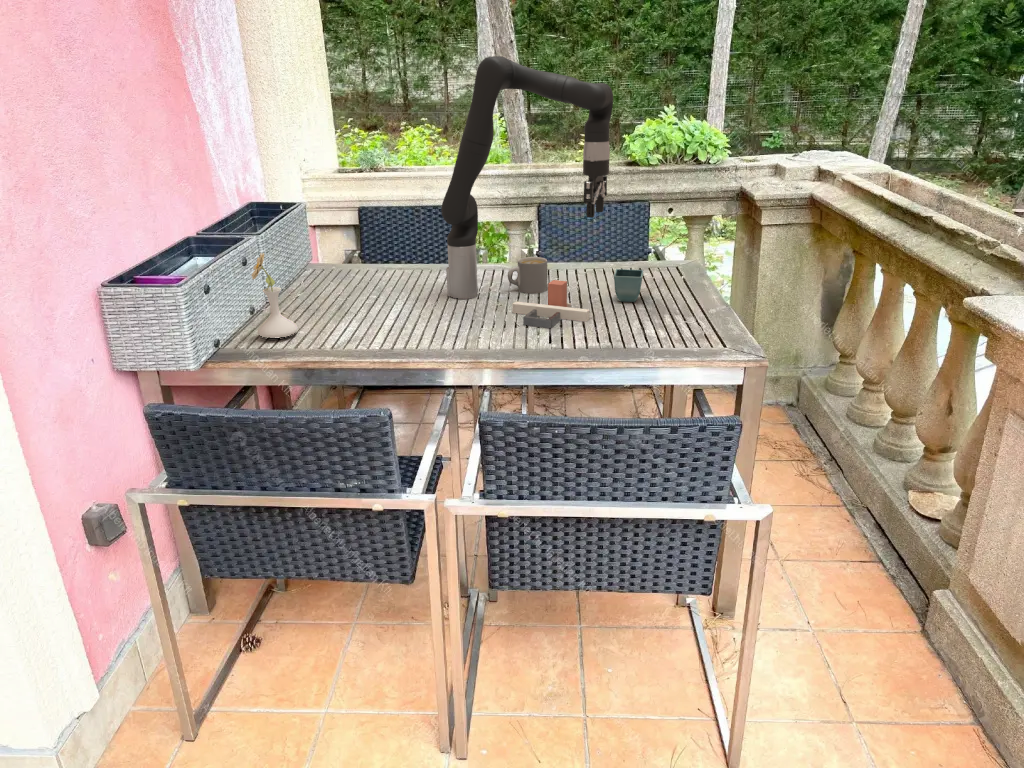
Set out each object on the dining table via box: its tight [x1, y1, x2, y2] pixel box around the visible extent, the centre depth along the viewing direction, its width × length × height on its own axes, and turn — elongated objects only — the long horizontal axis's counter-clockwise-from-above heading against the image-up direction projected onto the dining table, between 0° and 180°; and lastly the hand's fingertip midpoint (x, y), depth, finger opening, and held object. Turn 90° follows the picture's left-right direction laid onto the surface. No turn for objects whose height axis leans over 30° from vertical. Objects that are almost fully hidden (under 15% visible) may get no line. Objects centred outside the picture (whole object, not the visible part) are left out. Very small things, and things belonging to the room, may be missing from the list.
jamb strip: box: [511, 301, 590, 323], centre depth 237 cm, size 24×11×3 cm, turn 66°
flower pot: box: [613, 268, 644, 303], centre depth 246 cm, size 9×9×9 cm
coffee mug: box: [507, 256, 548, 295], centre depth 260 cm, size 13×10×10 cm
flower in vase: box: [250, 252, 299, 338], centre depth 217 cm, size 13×11×25 cm
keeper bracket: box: [522, 309, 561, 329], centre depth 228 cm, size 8×8×2 cm
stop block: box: [547, 279, 568, 307], centre depth 237 cm, size 4×4×9 cm
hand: (595, 214), depth 228 cm, fingers open, 8 cm apart
